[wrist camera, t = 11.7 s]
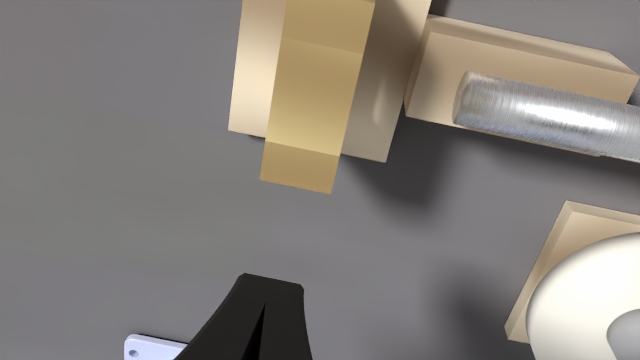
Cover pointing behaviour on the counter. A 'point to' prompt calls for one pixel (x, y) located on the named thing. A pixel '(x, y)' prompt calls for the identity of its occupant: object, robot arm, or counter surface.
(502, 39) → the eye post
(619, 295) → the wheel
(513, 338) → the wheel pedestal
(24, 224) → the counter surface
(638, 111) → the metal rod with cap
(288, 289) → the robot arm
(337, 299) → the counter surface
